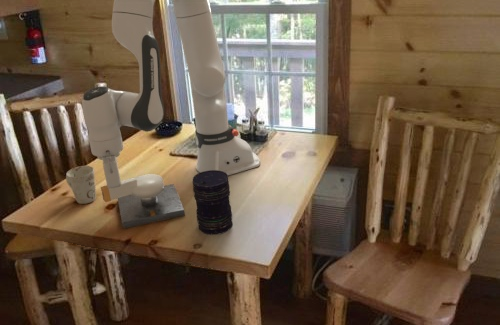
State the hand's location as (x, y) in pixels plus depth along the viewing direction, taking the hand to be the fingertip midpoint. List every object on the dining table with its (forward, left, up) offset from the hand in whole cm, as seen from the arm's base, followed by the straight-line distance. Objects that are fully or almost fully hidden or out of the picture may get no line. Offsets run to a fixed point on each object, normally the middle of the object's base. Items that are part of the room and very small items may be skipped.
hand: (115, 188), depth 147 cm
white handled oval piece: (-5, +1, -3) cm, 6 cm away
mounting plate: (-9, 0, -9) cm, 12 cm away
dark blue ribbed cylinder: (-25, +18, -9) cm, 32 cm away
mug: (+11, -16, -9) cm, 21 cm away
